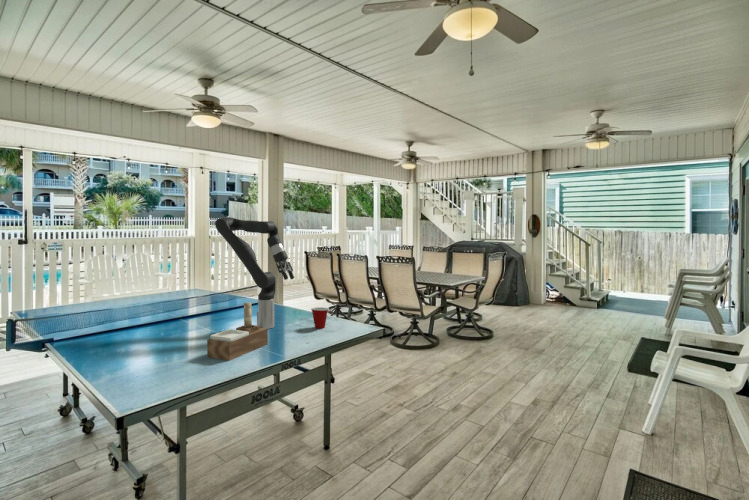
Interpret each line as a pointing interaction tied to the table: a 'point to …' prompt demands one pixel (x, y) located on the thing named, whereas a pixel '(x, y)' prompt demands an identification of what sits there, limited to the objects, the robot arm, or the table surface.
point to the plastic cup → (319, 316)
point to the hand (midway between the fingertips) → (289, 279)
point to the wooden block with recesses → (238, 344)
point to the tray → (229, 335)
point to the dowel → (247, 315)
